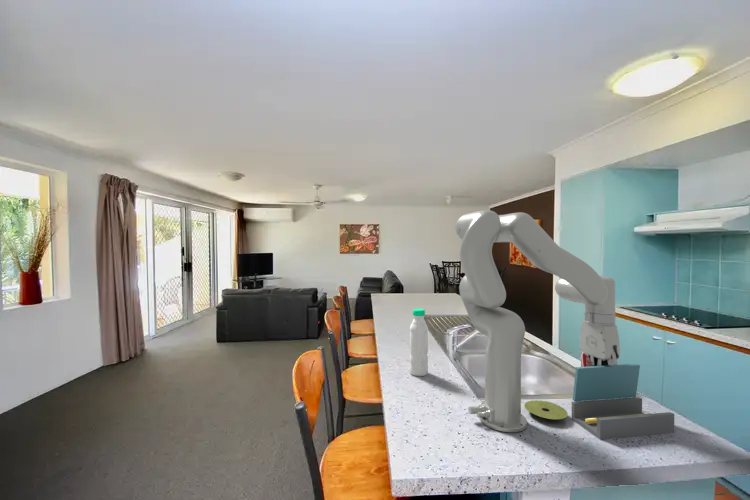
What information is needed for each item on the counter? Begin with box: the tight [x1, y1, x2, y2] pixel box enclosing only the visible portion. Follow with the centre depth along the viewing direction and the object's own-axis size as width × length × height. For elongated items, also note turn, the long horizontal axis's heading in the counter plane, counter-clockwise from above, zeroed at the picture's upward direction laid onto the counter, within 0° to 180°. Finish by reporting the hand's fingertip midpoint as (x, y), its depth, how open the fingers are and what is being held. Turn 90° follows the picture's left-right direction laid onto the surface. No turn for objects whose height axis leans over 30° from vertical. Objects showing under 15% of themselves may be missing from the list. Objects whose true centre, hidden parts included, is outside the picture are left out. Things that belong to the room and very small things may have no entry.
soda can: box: [580, 351, 593, 367], centre depth 119 cm, size 7×7×12 cm
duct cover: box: [572, 363, 641, 402], centre depth 95 cm, size 20×10×1 cm
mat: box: [523, 399, 569, 420], centre depth 96 cm, size 11×11×2 cm
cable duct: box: [571, 396, 675, 441], centre depth 90 cm, size 22×10×5 cm, turn 98°
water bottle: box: [409, 308, 429, 377], centre depth 127 cm, size 7×7×25 cm
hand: (599, 379), depth 98 cm, fingers closed
